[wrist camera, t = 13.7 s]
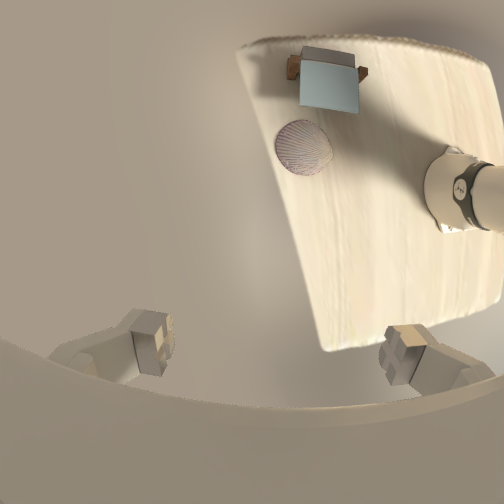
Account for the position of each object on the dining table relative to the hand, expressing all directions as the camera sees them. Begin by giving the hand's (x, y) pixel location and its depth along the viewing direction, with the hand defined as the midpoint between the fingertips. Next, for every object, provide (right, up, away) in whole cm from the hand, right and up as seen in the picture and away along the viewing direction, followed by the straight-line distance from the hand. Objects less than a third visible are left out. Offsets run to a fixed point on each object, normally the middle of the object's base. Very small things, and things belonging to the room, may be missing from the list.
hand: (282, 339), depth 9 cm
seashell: (+8, +22, +37) cm, 44 cm away
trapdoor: (+11, +32, +30) cm, 45 cm away
